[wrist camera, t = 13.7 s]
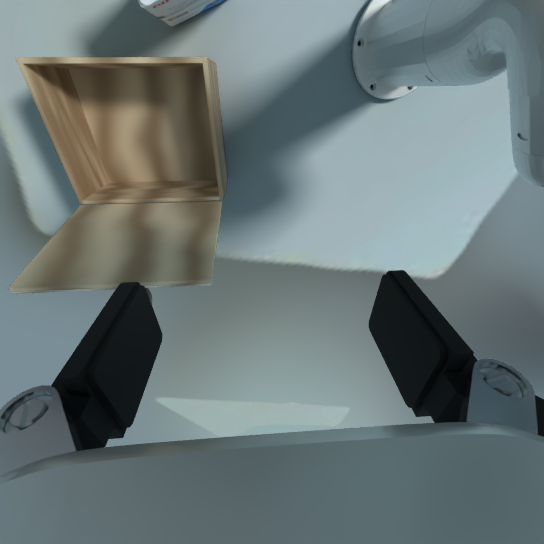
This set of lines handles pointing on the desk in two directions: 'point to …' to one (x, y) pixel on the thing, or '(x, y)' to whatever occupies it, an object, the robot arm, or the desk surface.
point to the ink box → (176, 9)
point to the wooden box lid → (127, 248)
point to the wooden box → (133, 126)
